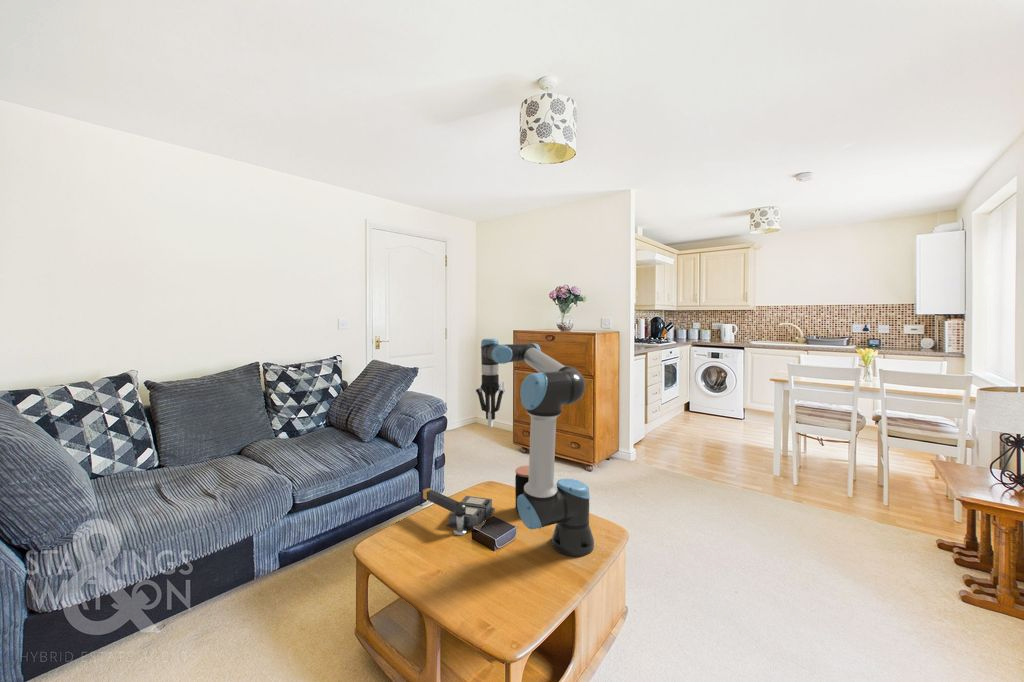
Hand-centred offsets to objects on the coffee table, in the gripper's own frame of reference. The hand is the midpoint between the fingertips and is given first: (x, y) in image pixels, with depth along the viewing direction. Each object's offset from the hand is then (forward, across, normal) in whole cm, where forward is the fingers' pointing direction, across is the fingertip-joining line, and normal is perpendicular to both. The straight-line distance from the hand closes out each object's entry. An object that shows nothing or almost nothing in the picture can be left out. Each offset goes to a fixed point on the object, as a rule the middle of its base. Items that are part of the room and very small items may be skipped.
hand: (490, 426), depth 181 cm
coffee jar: (+35, -18, +4) cm, 39 cm away
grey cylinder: (+34, +3, +28) cm, 44 cm away
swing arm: (+27, +12, +23) cm, 38 cm away
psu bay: (+34, +3, +16) cm, 38 cm away
